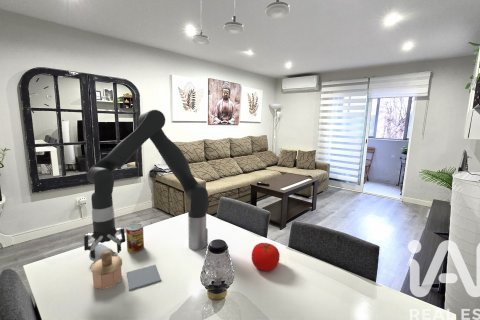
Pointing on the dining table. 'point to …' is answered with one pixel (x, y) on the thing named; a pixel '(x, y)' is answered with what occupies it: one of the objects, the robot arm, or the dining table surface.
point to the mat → (143, 277)
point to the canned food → (135, 237)
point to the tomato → (265, 256)
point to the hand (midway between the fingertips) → (106, 255)
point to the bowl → (107, 279)
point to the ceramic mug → (99, 250)
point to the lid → (106, 264)
